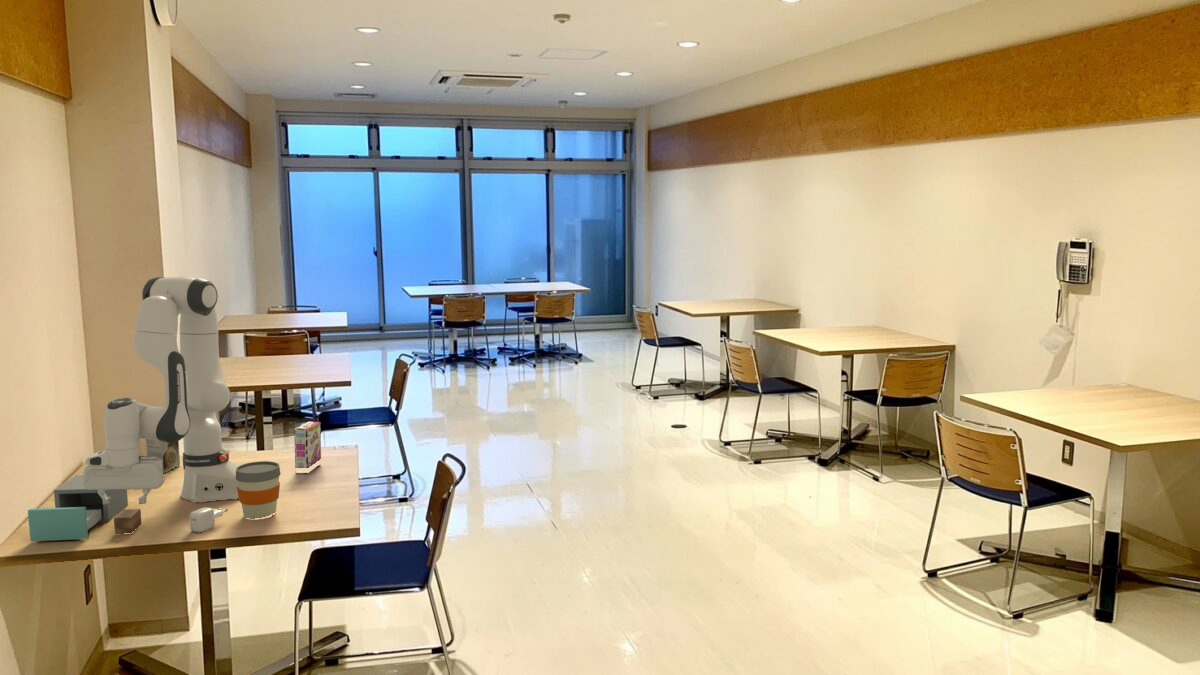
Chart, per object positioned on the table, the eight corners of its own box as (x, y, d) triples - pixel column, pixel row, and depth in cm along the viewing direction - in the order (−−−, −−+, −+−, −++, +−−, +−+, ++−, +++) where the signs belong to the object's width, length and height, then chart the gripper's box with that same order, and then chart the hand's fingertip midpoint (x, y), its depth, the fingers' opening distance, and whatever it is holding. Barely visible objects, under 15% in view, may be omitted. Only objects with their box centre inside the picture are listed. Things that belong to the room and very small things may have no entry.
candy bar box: (308, 474, 287) (306, 429, 285) (294, 474, 287) (293, 428, 285) (322, 465, 298) (321, 421, 296) (309, 464, 298) (307, 420, 296)
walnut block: (141, 525, 239) (140, 508, 238) (132, 534, 232) (131, 517, 231) (124, 525, 238) (123, 509, 237) (114, 535, 231) (113, 518, 230)
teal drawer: (107, 520, 240) (105, 491, 238) (86, 538, 226) (83, 508, 225) (55, 522, 237) (53, 493, 236) (30, 541, 224) (27, 510, 222)
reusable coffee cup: (232, 513, 249) (230, 465, 247) (275, 504, 257) (273, 458, 254) (243, 525, 239) (241, 476, 237) (287, 516, 247) (285, 468, 245)
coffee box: (164, 465, 295) (161, 421, 292) (180, 466, 294) (178, 422, 291) (147, 472, 286) (144, 428, 283) (164, 474, 285) (161, 428, 283)
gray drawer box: (128, 505, 254) (125, 473, 252) (108, 521, 240) (106, 488, 239) (78, 507, 252) (76, 475, 250) (56, 523, 238) (53, 490, 237)
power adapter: (218, 518, 244) (217, 499, 243) (231, 521, 243) (230, 502, 242) (188, 531, 234) (186, 512, 233) (201, 534, 232) (200, 514, 231)
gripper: (166, 453, 236) (167, 499, 238) (89, 453, 233) (91, 500, 234) (158, 459, 230) (160, 506, 232) (79, 459, 226) (81, 507, 228)
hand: (124, 503), depth 233 cm, fingers open, 8 cm apart
